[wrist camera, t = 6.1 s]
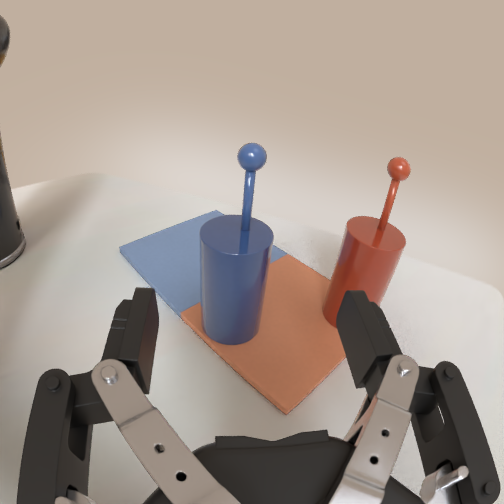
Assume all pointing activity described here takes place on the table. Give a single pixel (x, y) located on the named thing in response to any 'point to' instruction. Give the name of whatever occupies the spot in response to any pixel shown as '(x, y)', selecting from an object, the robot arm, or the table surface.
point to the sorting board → (272, 321)
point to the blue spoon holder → (235, 264)
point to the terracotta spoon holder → (368, 251)
